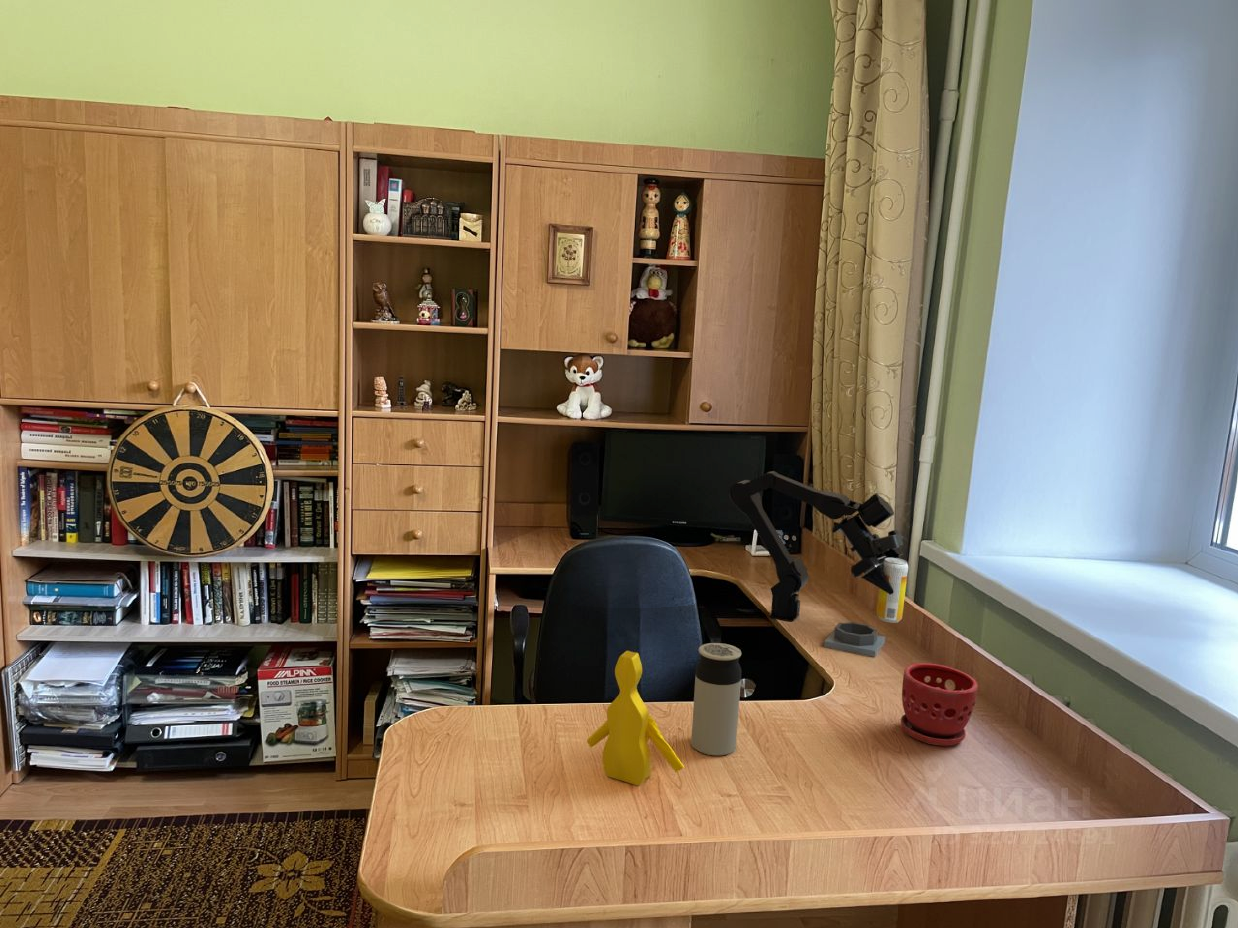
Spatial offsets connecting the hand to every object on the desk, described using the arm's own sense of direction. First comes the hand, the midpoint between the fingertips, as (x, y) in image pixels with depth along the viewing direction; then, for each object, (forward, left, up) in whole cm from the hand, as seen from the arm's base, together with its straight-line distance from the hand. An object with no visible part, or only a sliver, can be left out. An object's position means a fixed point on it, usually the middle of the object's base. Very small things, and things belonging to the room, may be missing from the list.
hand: (897, 590), depth 215 cm
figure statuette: (-26, -95, -13) cm, 99 cm away
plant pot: (+16, -50, -13) cm, 54 cm away
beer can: (-1, 0, -8) cm, 8 cm away
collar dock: (-8, -8, -13) cm, 17 cm away
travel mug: (-18, -77, -13) cm, 80 cm away
